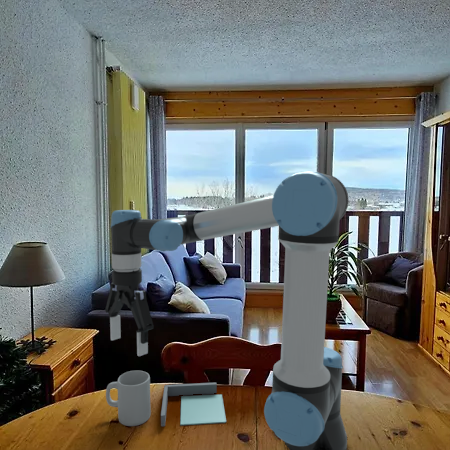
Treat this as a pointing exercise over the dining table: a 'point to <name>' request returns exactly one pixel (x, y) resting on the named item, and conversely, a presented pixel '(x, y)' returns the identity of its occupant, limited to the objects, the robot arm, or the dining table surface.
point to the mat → (202, 409)
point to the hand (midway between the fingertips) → (128, 346)
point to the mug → (131, 397)
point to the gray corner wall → (184, 393)
